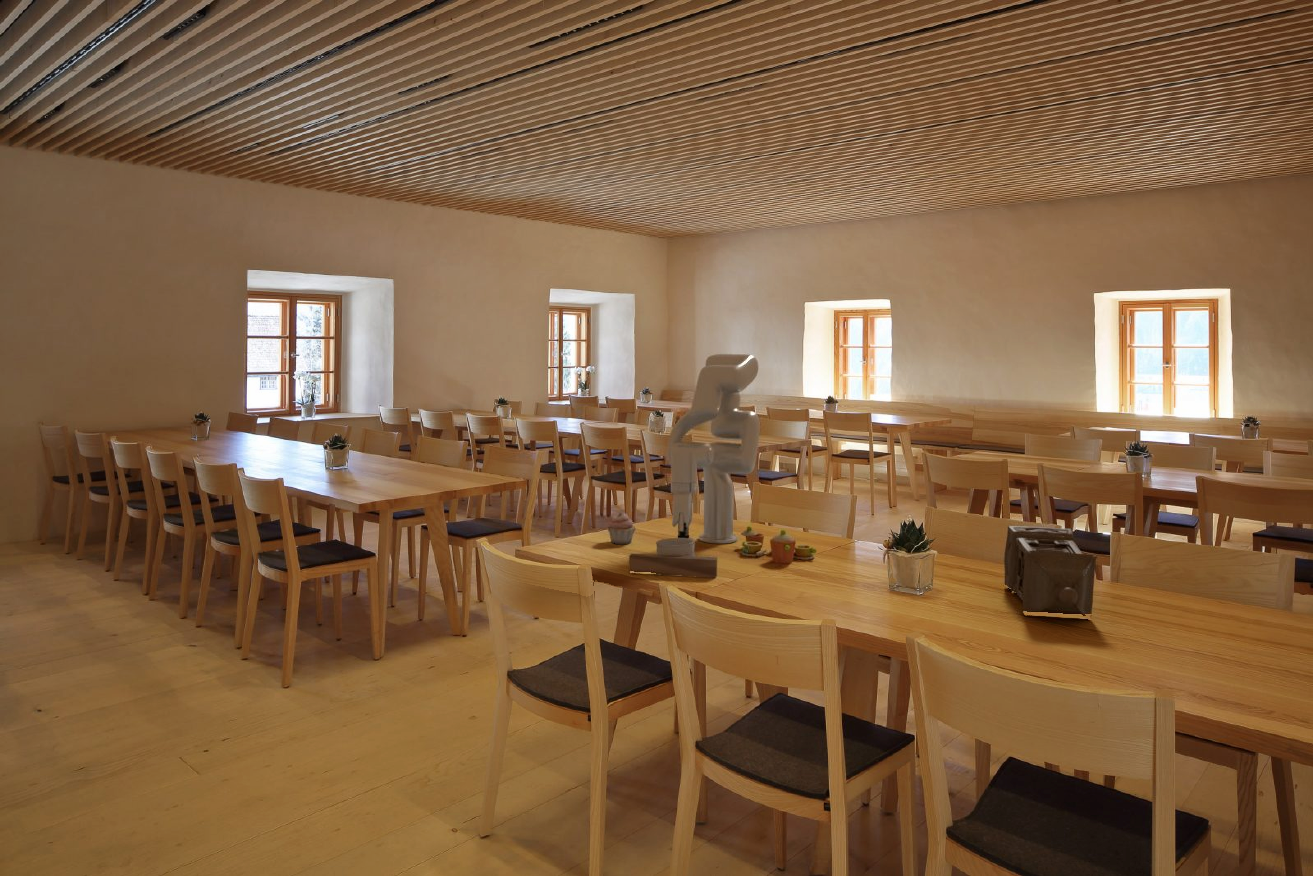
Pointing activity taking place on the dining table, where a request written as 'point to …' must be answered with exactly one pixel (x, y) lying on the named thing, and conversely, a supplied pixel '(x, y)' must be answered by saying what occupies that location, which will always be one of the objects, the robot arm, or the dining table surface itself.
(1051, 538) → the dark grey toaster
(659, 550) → the grey rounded block
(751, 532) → the toy tea set
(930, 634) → the dining table surface
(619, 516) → the cupcake
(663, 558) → the block
